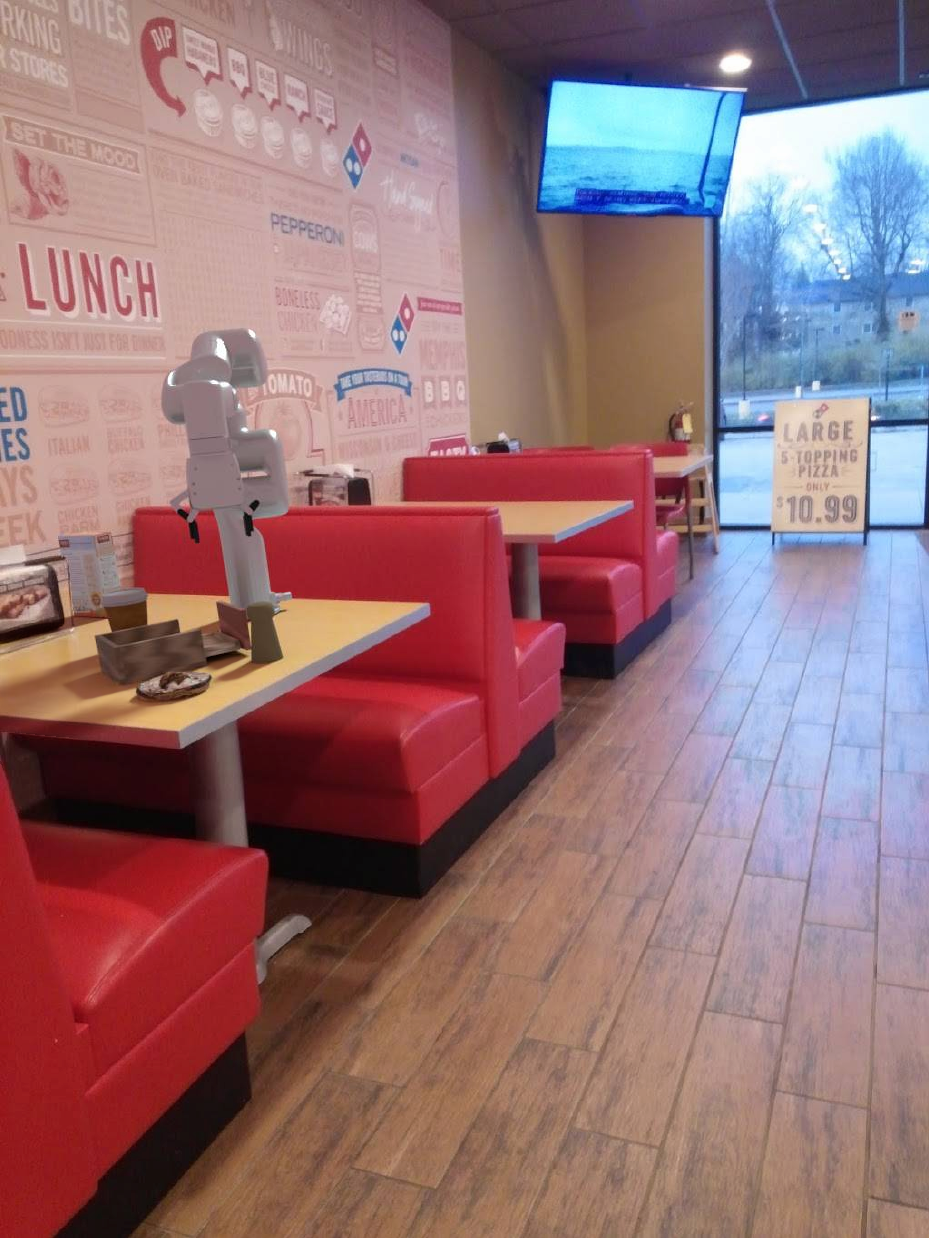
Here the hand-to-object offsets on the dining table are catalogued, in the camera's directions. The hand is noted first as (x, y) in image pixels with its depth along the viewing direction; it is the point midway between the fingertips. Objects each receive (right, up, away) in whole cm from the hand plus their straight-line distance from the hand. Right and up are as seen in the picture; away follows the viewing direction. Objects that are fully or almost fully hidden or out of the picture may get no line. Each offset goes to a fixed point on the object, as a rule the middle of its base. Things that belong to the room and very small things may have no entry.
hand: (223, 539), depth 186 cm
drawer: (-6, -22, +6) cm, 23 cm away
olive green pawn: (+9, -23, 0) cm, 24 cm away
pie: (-4, -28, -16) cm, 33 cm away
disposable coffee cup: (-24, -21, +20) cm, 38 cm away
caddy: (-14, -25, +1) cm, 28 cm away
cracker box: (-46, -14, +61) cm, 78 cm away
